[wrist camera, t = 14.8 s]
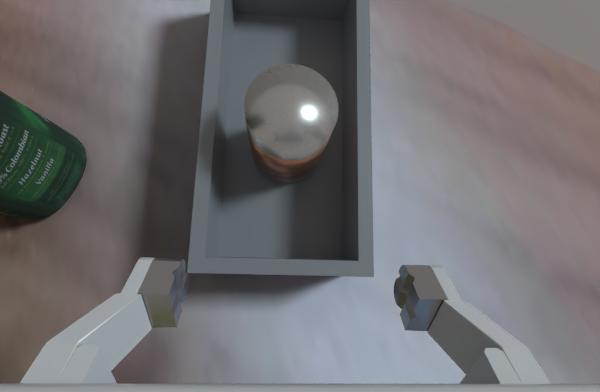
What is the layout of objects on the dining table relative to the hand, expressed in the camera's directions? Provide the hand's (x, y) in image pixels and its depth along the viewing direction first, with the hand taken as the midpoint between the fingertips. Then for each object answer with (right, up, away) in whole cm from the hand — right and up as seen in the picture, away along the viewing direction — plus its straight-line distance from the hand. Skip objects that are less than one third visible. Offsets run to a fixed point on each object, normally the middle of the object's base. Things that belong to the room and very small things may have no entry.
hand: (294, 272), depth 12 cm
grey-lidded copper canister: (-1, +7, +15) cm, 16 cm away
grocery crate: (-1, +9, +16) cm, 19 cm away
